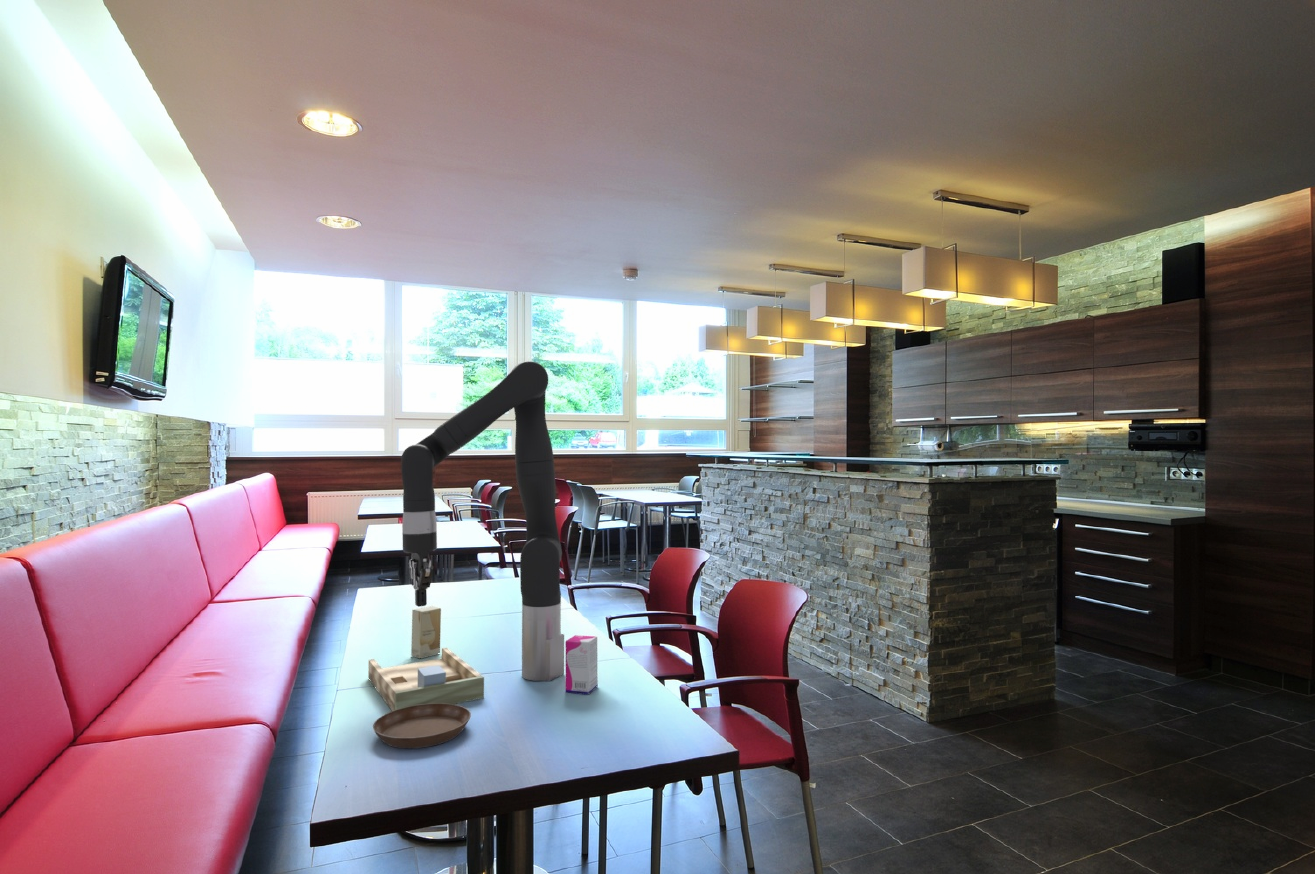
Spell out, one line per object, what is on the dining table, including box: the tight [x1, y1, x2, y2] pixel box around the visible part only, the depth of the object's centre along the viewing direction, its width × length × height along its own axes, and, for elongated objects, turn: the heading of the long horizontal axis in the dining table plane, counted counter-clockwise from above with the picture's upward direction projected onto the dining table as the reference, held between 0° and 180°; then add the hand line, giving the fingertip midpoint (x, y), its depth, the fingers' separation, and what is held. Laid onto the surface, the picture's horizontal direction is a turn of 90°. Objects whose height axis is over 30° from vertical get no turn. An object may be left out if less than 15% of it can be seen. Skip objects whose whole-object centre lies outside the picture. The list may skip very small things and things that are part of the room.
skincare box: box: [410, 605, 442, 659], centre depth 183 cm, size 6×4×12 cm
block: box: [418, 665, 446, 687], centre depth 150 cm, size 6×4×4 cm
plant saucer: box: [372, 703, 472, 749], centre depth 133 cm, size 18×18×3 cm
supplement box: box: [564, 634, 599, 695], centre depth 157 cm, size 6×6×12 cm
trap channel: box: [367, 647, 485, 712], centre depth 158 cm, size 27×18×4 cm
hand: (420, 605), depth 161 cm, fingers closed
